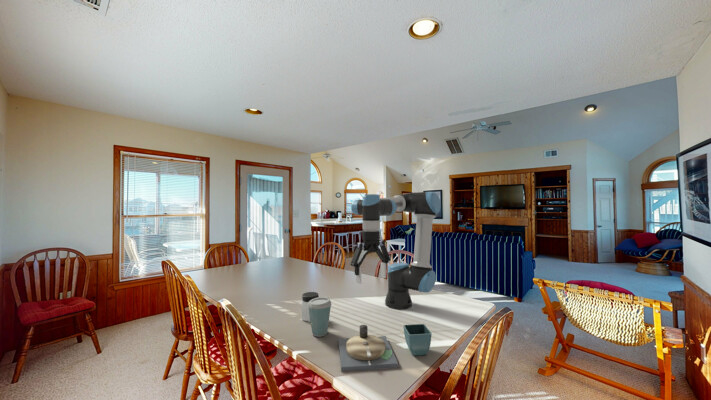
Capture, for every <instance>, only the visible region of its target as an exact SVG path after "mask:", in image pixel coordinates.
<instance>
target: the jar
mask: <svg viewBox="0 0 711 400" xmlns="http://www.w3.org/2000/svg"><path fill="white" fill-rule="evenodd" d="M318 297H320V296H319V293H318V292H315V291H307V292H304V293H303V294H302V298H301V320H302V321H305V322H309V323H311V321H310V314H309V308H308V302H309V301H310V300H312V299H314V298H318Z"/></svg>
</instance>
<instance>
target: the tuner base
mask: <svg viewBox="0 0 711 400" xmlns="http://www.w3.org/2000/svg"><path fill="white" fill-rule="evenodd" d="M378 337H379V338H381V339H382V340H383V341H384V342H385V353H384V355H383V356H381V357H380V358H377V359H374V360H359V359H355V358H353V357H351V356H350V355H348V353H347V351H346V343H347V341H348V340H349V339H350V338H351V337H349V338H347V337H346V338H338V349H339V351H338V352H339V353H338V354H339V363H340V372H341V371H342V372H355V371H356V370H357V371H368V370H370V371H371V370H380V369H382V370H383V369H397V368H399V363H398V361H397V358H396V356H395V354H394V351H393V349H392V347H391V345H390V343H389V340H388V337H387V336H386V335H381V336H378ZM357 371H356V372H357Z"/></svg>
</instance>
